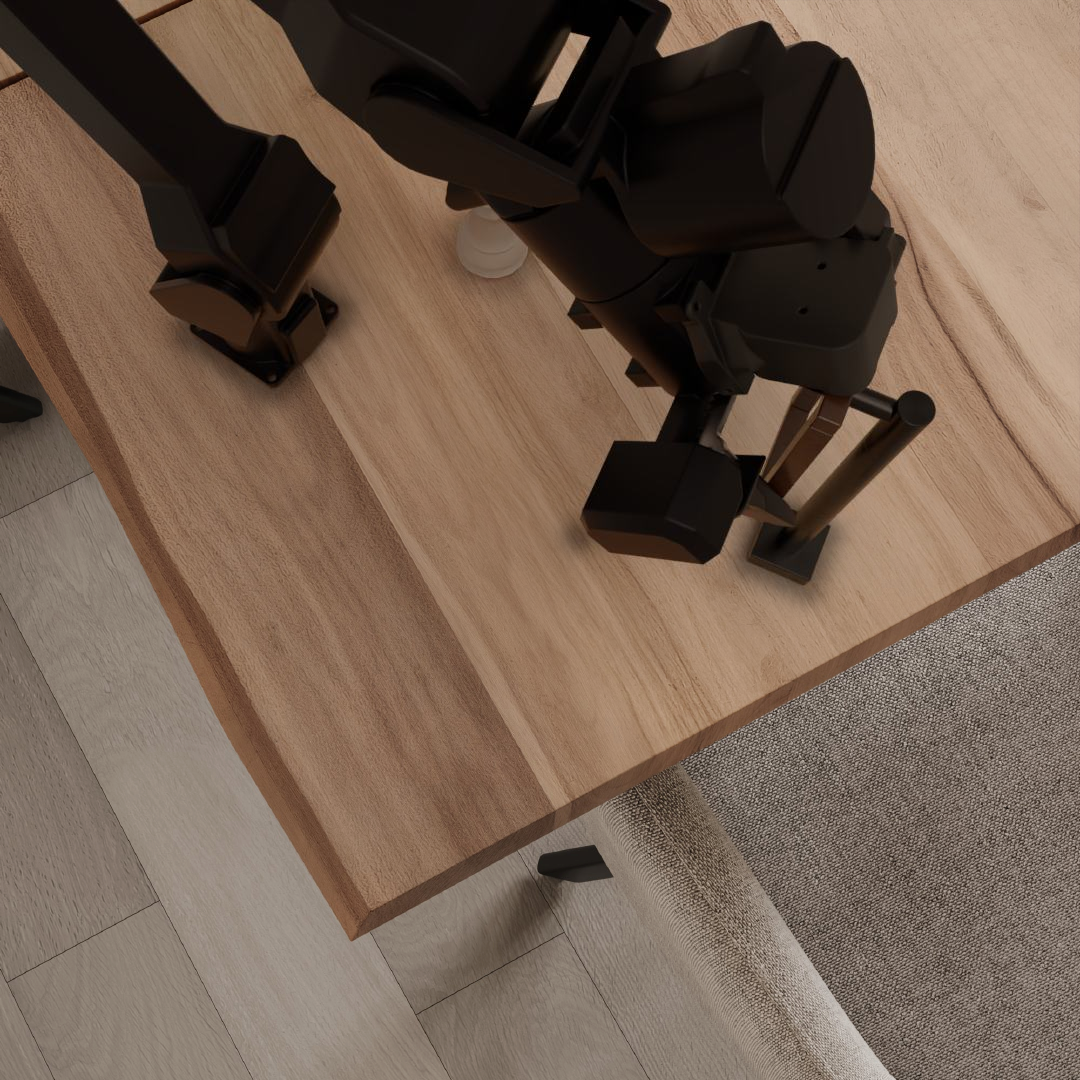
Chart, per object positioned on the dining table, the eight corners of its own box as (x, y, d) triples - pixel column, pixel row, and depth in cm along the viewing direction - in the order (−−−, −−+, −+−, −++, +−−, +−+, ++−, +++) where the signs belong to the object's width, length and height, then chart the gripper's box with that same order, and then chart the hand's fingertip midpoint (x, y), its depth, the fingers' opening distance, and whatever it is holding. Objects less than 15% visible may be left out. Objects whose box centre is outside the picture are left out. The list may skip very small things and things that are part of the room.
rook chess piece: (447, 272, 67) (442, 196, 59) (466, 211, 68) (464, 128, 61) (518, 290, 67) (522, 215, 59) (535, 228, 68) (542, 147, 60)
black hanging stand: (674, 530, 63) (760, 379, 43) (697, 476, 64) (791, 305, 44) (804, 586, 62) (950, 459, 43) (825, 531, 63) (977, 382, 44)
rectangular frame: (743, 514, 52) (824, 406, 40) (792, 396, 54) (883, 257, 42) (763, 523, 52) (849, 417, 40) (810, 404, 54) (907, 267, 42)
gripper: (706, 456, 33) (910, 666, 43) (898, 6, 39) (1041, 284, 48) (474, 448, 42) (690, 626, 51) (658, 76, 47) (822, 303, 56)
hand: (813, 458), depth 52 cm, fingers closed on rectangular frame, 7 cm apart
